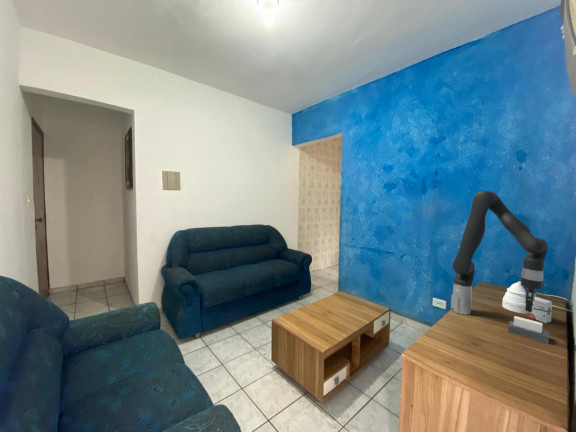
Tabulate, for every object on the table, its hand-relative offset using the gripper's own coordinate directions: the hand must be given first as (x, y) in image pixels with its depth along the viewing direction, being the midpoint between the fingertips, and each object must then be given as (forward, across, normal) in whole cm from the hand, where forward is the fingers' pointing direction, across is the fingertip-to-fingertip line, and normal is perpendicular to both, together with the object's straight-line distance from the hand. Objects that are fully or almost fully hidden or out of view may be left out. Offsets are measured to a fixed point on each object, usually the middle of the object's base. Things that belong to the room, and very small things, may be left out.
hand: (528, 308), depth 118 cm
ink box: (+14, +28, -4) cm, 31 cm away
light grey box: (+13, 0, 0) cm, 13 cm away
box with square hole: (+14, 0, -1) cm, 14 cm away
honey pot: (+14, +36, +6) cm, 39 cm away
